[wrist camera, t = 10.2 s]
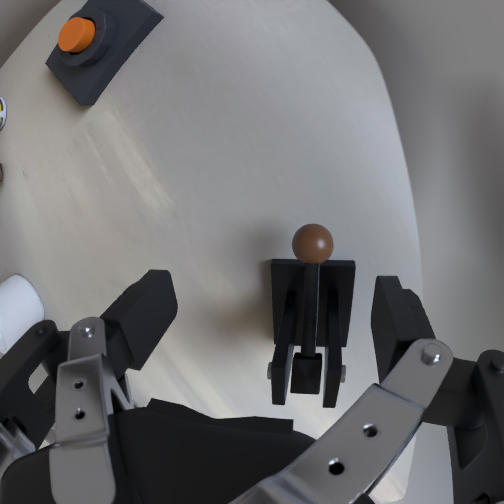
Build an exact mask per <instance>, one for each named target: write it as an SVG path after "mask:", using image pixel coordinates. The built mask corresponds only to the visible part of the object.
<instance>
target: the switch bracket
mask: <svg viewBox="0 0 504 504" xmlns="http://www.w3.org/2000/svg"><path fill="white" fill-rule="evenodd" d="M355 269H356V266H355V261H344V260H326V261H325V262H323V263H321V264H320V270H319V299H318V319H317V336H316V346H317V347H325V370H324V392H323V408H335V406H336V401H337V396H338V391H339V386H340V383H344V382H345V376H346V366H345V365H342V351H341V347H346V345H347V338H348V331H349V323H350V316H351V307H352V299H353V290H354V280H355ZM271 278H272V300H273V325H274V344H276V346H275V351H274V355H273V360H272V362H269V364H268V371H267V378H268V379H271V386H272V404H274V405H285V400H286V394H287V388H288V382H289V376H290V370H291V363H292V357H293V350H294V346H301V343H302V326H303V306H304V282H305V264H304V263H302V262H301V261H300V260H295V259H273V260H272V263H271Z"/></svg>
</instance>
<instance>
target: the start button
mask: <svg viewBox="0 0 504 504" xmlns="http://www.w3.org/2000/svg"><path fill="white" fill-rule="evenodd" d="M94 34H95V25H94V23H93V22H92V21H90V20H87V19H83V18H79V17H75V18H72V19H70V20H69V21H68V22H67V23H66V24H65V25H64V26H63V28H62V29H61V31H60V34H59V38H58V44H59V47H60V49H61V50H63V51H68V52H81V51H83V50H85V49H86V48H87V47H88V46H89V45H90V43H91V42H92V40H93V38H94Z"/></svg>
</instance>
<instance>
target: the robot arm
mask: <svg viewBox="0 0 504 504" xmlns="http://www.w3.org/2000/svg"><path fill="white" fill-rule="evenodd" d="M177 309H178V305H177V299H176V295H175V291H174V287H173V282H172V278H171V274H170V272H169V271H168V270H153V269H151V270H149V271H148V272H147V273H146V274H145V275H144V276H143V277H142V278H141V279H140V280H139V281H137V282H136V283H134V284H132V285H131V286H129V287H128V288H127V289H126V290H125V291H124V292H123V293H122V295H120V296H119V297H118V298H117V300H115V301H114V302H113V303H112V304H111V305H110V307H109V308H108V309H107V310H106V311H105V312H104V313H103V314H102V315H101V316H100V317H99V318H98V317H88V318H85V319H82V320H80V321H78V322H77V323H76V324H74V325H73V326H72V328H71V330H70V331H58V329H57V327H56V324H55V322H54V321H52V320H43V321H40V322H37V323H36V324H34V325H33V326H31V327H30V328H29V329H28V330H27V331H26V332H25V333H24V334H23V335H22V336H21V338H20V339H19V340H18V341H17V342H16V343H15V344H14V345H13V346H12V347H11V348H10V349H9V350H8V351H7V352H6V353H5V355H4V356H3V357H2V358H1V359H0V504H375V503H374V502H373V500H372V499H371V498H370V497H369V496H368V495H369V494H370V493H371V492H372V491H373V490H374V489H375V487H376V486H377V485H378V484H379V483H380V481H381V480H382V479H383V478H384V476H385V475H386V474H387V472H388V471H389V470H390V468H391V467H392V466H393V464H394V463H395V461H396V460H397V459H398V457H399V456H400V455H401V453H402V452H403V451H404V449H405V448H406V446H407V445H408V443H409V442H410V441H411V439H412V438H413V436H414V435H415V433H416V432H417V430H418V428H419V427H420V425H421V424H422V422H426V423H431V424H437V425H442V426H446V427H447V434H448V441H449V449H450V457H451V467H452V480H453V496H454V497H453V498H454V504H504V352H501V351H498V350H487V351H484V352H483V353H482V354H481V355H480V356H479V358H478V360H477V362H474V361H468V360H462V359H458V358H455V357H453V354H452V351H451V349H450V348H449V347H448V346H447V345H446V344H444V343H443V342H441V341H439V340H436V338H435V335H434V332H433V330H432V327H431V325H430V322H429V320H428V317H427V315H426V313H425V310H424V308H423V306H422V303H421V301H420V299H419V297H418V296H417V295H416V294H415V293H414V292H413V291H412V290H410V289H402V287H401V284H400V282H399V279H398V277H397V276H377V278H376V283H375V290H374V298H373V305H372V311H371V329H372V335H373V341H374V348H375V354H376V361H377V368H378V376H379V384H380V385H378V384H376V383H374V384H372V385H371V386H370V387H369V388H368V389H367V390H366V391H365V392H364V393H363V394H362V396H361V397H360V398H359V399H358V400H357V401H356V402H355V403H354V404H353V405H352V406H351V407H350V408H349V409H348V410H347V411H346V413H345V414H344V415H343V416H342V417H341V418H340V419H339V420H338V421H337V422H336V423H335V424H334V425H333V426H332V427H331V428H329V429H328V430H327V431H326V432H325V433H324V434H323V435H322V436H321V437H320V438H319V439H318V440H316V439H314V438H312V437H310V436H308V435H306V434H303V433H301V432H297V431H294V430H293V420H291V419H278V418H267V417H257V416H253V417H240V418H224V419H215V418H211V417H209V416H206V415H204V414H202V413H199V412H197V411H195V410H193V409H190V408H188V407H186V406H184V405H181V404H176V403H171V402H167V401H162V400H158V399H154V398H151V400H150V402H149V404H148V405H147V407H141V408H134V404H133V400H132V395H131V391H130V386H129V381H128V377H127V374H126V372H125V371H126V370H127V369H128V368H130V369H134V370H139V371H140V370H141V368H142V367H143V365H144V364H145V362H146V361H147V359H148V358H149V356H150V355H151V353H152V352H153V350H154V349H155V347H156V346H157V344H158V343H159V341H160V340H161V338H162V336H163V335H164V333H165V332H166V330H167V329H168V327H169V326H170V324H171V323H172V321H173V320H174V319H175V317H176V314H177ZM40 363H41V364H42V365H43V367H44V369H45V370H46V372H47V374H48V377H47V378H46V379H45V381H44V382H43V383H42V384H41V386H40V387H39V388H38V390H37V391H36V392H35V394H33V393H32V391H31V390H30V388H29V385H28V381H29V377H30V375H31V374H32V373H33V372H34V370H35V369H36V368H37V367H38V366H39V364H40ZM54 423H55V443H53V444H50V445H48V446H46V447H44V448H41V449H39V447H40V446H41V444H42V442H43V441H44V439H45V438H46V436H47V434H48V433H49V431H50V430H51V428H52V427H53V425H54ZM38 449H39V450H38Z"/></svg>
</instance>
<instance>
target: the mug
mask: <svg viewBox="0 0 504 504" xmlns="http://www.w3.org/2000/svg"><path fill="white" fill-rule="evenodd" d="M44 315H45V314H44V308H43V304H42V302H41V299H40V297H39V295H38V293H37V292H36V290H35V289H34V287H33V286H32V285H31V284H30V282H29V281H28V280H27V279H25V278H24V277H23V276H21V275H18V274H14V275H12V276H11V277H9V278H8V279H7V280H5V281H4V282H2V283H1V284H0V352H2V353H3V354H5V353H6V352H7V351H8V350H9V349H10V348H11V347H12V346H13V345H14V344H15V343H16V342H17V341H18V340H19V339H20V338H21V336H22V335H23V334H24V333H25V332H26V331H27V330H28V329H29V328H30V327H31V326H33V325H34V324H36V323H37V322H40V321H43V320H44Z"/></svg>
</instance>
